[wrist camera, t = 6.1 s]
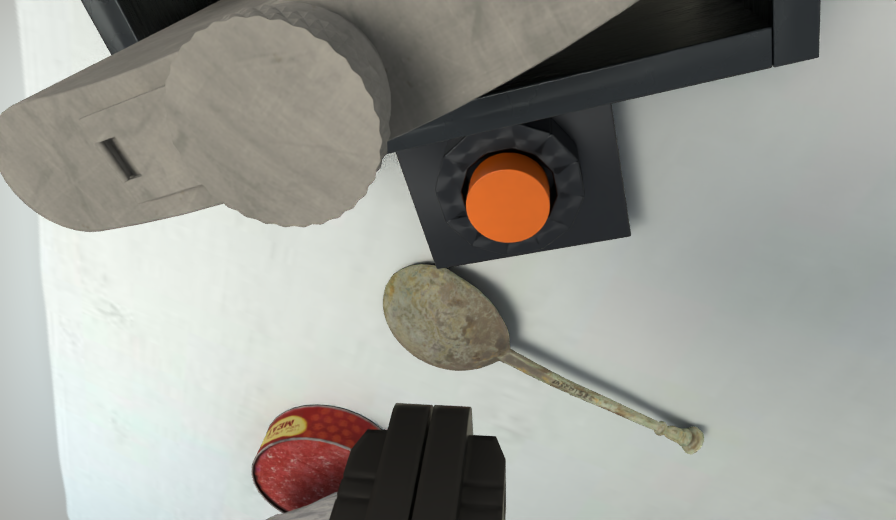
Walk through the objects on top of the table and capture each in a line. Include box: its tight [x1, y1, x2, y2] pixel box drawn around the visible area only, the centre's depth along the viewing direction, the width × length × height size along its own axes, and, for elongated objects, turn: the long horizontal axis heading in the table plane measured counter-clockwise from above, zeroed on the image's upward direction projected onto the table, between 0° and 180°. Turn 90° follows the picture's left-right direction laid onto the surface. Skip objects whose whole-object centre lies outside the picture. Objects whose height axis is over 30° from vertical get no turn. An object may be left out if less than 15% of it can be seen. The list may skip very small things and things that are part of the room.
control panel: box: [396, 104, 631, 269], centre depth 30 cm, size 9×10×4 cm
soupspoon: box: [383, 264, 704, 454], centre depth 37 cm, size 22×3×7 cm
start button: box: [466, 153, 550, 243], centre depth 28 cm, size 4×4×2 cm
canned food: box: [252, 405, 381, 520], centre depth 43 cm, size 11×10×10 cm
